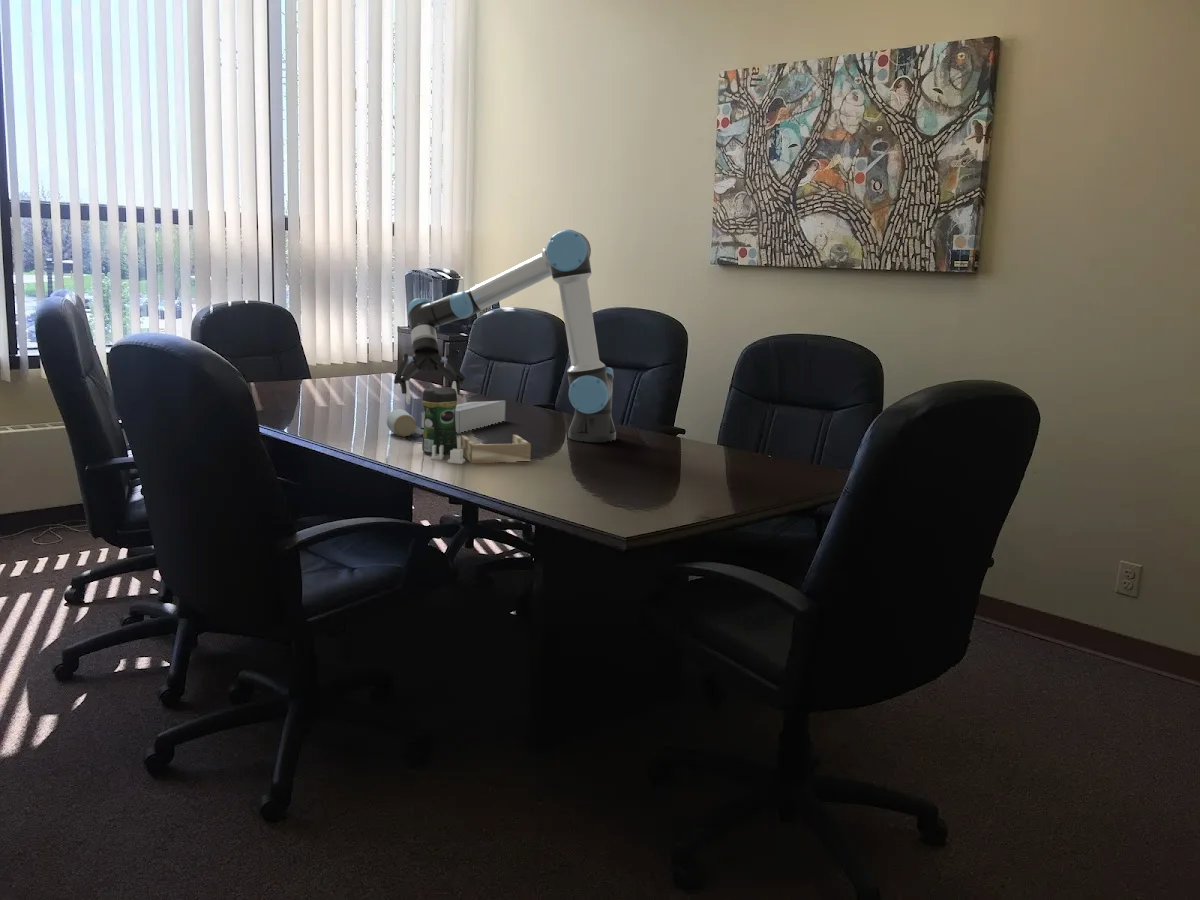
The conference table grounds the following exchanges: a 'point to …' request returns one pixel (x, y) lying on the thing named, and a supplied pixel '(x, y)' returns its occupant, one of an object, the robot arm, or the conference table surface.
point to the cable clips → (455, 455)
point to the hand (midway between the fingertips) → (432, 402)
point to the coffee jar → (439, 419)
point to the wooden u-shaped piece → (496, 451)
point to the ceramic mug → (402, 423)
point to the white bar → (476, 414)
